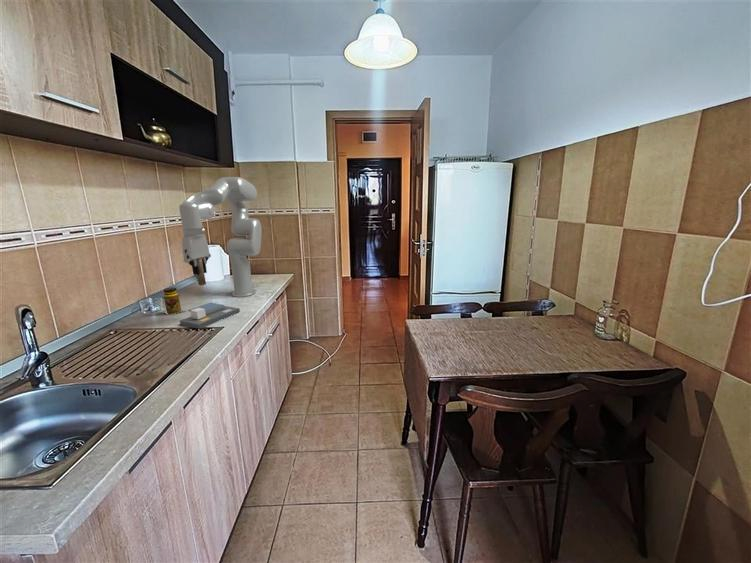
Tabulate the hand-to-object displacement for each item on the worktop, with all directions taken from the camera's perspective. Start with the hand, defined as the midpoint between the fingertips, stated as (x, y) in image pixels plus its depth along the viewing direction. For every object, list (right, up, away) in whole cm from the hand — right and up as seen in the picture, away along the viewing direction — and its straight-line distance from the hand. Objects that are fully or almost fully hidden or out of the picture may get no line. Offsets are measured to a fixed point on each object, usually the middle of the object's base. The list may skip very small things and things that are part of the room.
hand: (200, 273), depth 151 cm
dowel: (0, -5, +1) cm, 5 cm away
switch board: (+4, -21, +3) cm, 21 cm away
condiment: (-19, -19, +12) cm, 30 cm away
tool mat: (-5, -17, +17) cm, 24 cm away
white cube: (0, -19, -2) cm, 20 cm away
